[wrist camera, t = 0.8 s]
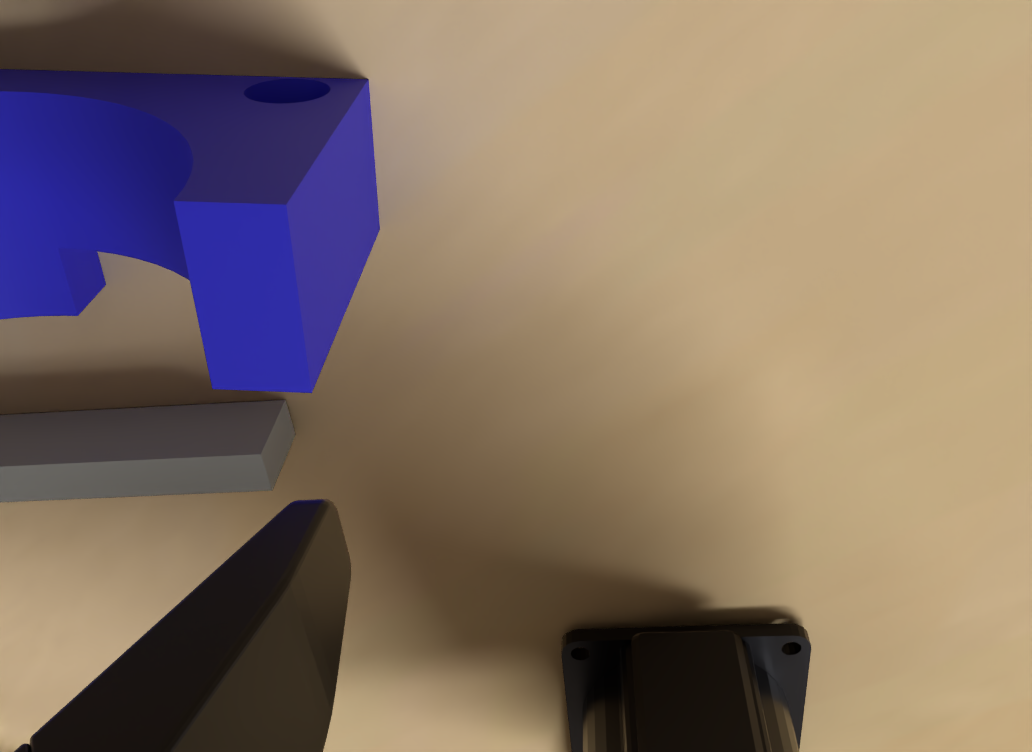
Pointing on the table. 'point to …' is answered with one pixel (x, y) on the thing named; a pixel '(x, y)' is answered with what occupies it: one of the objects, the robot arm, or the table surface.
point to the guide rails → (144, 451)
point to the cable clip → (194, 204)
